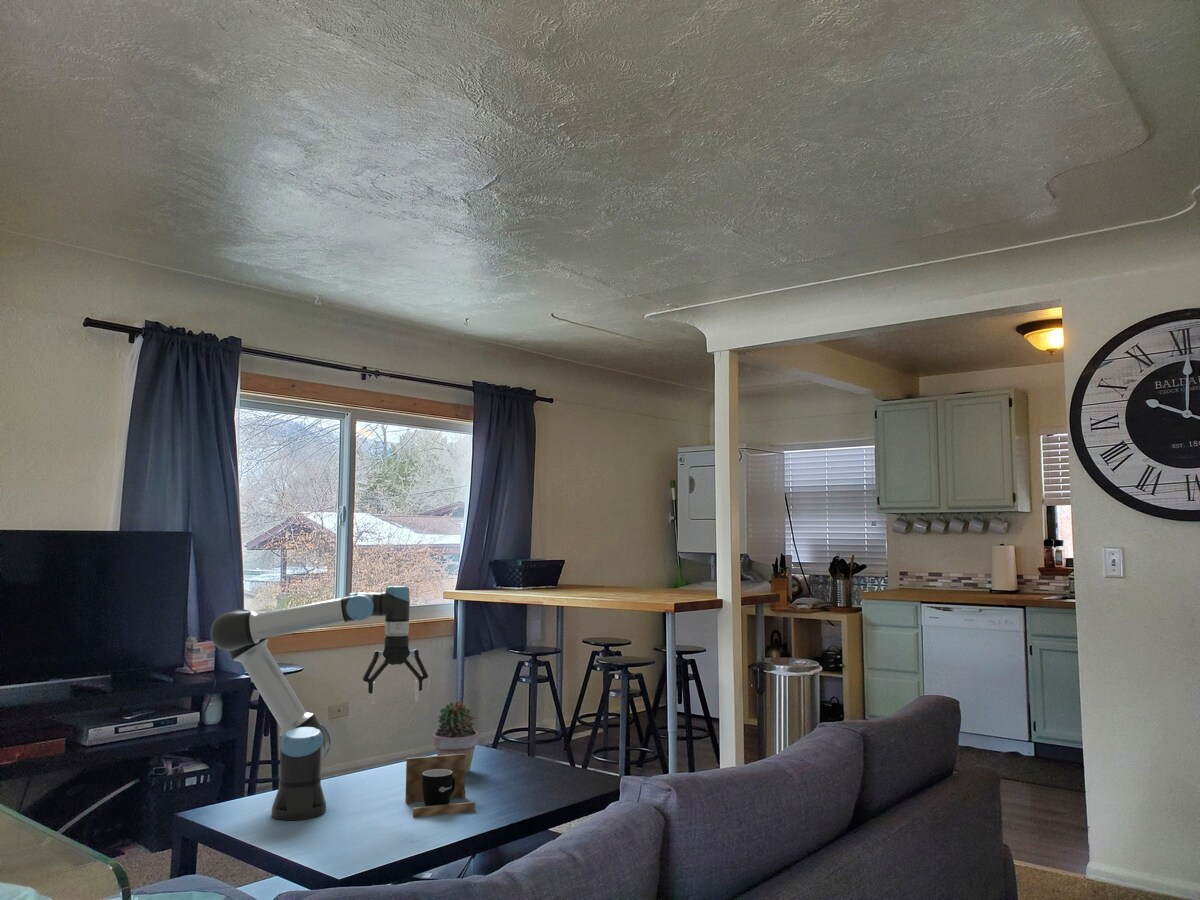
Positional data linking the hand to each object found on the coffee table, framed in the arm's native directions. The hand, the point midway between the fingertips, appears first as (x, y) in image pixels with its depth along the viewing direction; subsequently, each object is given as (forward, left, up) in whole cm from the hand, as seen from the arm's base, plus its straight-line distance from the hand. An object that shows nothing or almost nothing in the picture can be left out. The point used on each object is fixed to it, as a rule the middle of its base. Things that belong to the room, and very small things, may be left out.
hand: (395, 702), depth 277 cm
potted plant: (+24, +25, -29) cm, 45 cm away
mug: (+12, -16, -29) cm, 35 cm away
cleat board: (+12, -16, -29) cm, 35 cm away
